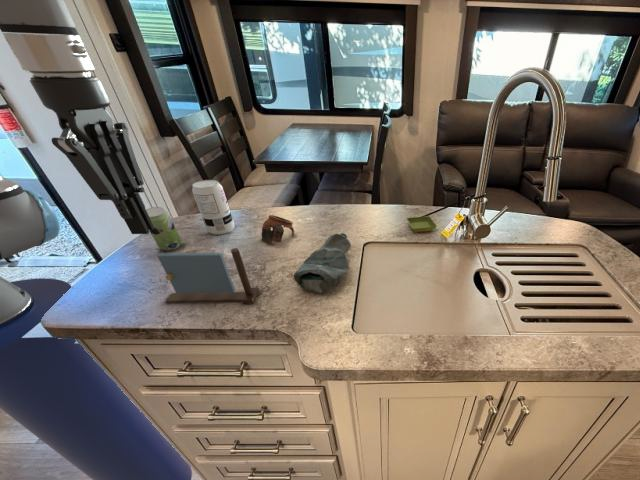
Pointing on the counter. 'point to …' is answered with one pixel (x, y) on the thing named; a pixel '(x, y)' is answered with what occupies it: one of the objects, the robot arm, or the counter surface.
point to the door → (197, 272)
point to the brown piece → (275, 229)
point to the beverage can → (163, 229)
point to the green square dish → (421, 223)
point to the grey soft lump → (325, 265)
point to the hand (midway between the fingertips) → (143, 230)
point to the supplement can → (213, 206)
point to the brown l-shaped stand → (245, 297)
